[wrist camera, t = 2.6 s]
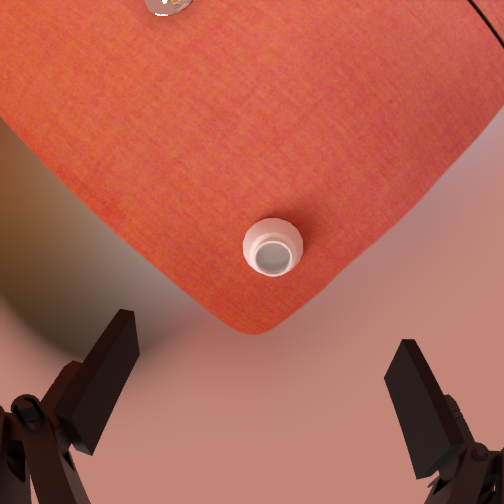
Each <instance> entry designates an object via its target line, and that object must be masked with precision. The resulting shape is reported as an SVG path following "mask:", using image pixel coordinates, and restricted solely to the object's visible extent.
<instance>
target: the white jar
mask: <svg viewBox="0 0 504 504" xmlns="http://www.w3.org/2000/svg"><path fill="white" fill-rule="evenodd" d="M243 254H244V257H245V258H246V260H247V262H248V264H249V265H250V266H251V267H252V268H254V269H255V270H256V271H257V272H259V273H262V274H264V275H267V276H280V275H282V274H284V273H286V272H288V271H291V270H292V269H293V268H294V267H295V266H296V265H297V264H298V263H299V261H300V259H301V256H302V254H303V239H302V237H301V235H300V233H299V231H298V229H297V228H296V227H294V226H293V225H292V224H291V223H290V222H288V221H285V220H282V219H280V218H265V219H263V220H261V221H259V222H257V223H254V225H253V226H252V227H251V228H250V229H249V230H248V231H247V232H246V235H245V238H244V241H243Z"/></svg>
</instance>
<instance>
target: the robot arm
mask: <svg viewBox="0 0 504 504" xmlns="http://www.w3.org/2000/svg"><path fill="white" fill-rule="evenodd" d="M139 355H140V352H139V346H138V339H137V332H136V324H135V315H134V311H129V310H124V309H119V311H118V312H117V314H116V315H115V316H114V318H113V319H112V321H111V322H110V323H109V325H108V326H107V328H106V329H105V331H104V332H103V333H102V335H101V336H100V338H99V339H98V341H97V342H96V344H95V345H94V347H93V348H92V350H91V351H90V353H89V354H88V356H87V357H86V359H85V360H84V362H83V363H80V362H77V361H72V362H70V363H69V364H67V365H66V366H64V368H63V369H62V371H61V372H60V374H59V376H58V377H57V378H56V379H55V381H54V384H52V385H51V387H50V388H49V390H48V391H47V393H46V394H45V396H44V397H43V399H42V400H41V402H40V401H39V399H38V398H36V397H35V396H33V395H30V394H25V395H21V396H19V397H17V398H16V399H15V400H14V401H13V403H12V405H11V412H12V413H8V412H5V411H4V409H3V408H2V407H1V406H0V504H32V503H31V489H30V475H31V479H32V482H33V486H34V489H35V492H36V496H37V498H38V502H39V504H91V503H90V501H89V499H88V497H87V494H86V492H85V490H84V487H83V485H82V482H81V480H80V478H79V475H78V472H77V470H76V467H75V465H74V462H73V459H72V456H71V453H70V451H69V450H68V449H69V447H70V445H71V443H72V444H73V446H74V448H75V449H76V450H78V451H80V452H83V453H86V454H88V455H91V456H92V455H93V453H94V451H95V448H96V446H97V444H98V441H99V439H100V437H101V435H102V432H103V430H104V428H105V426H106V423H107V421H108V419H109V417H110V415H111V413H112V411H113V408H114V406H115V404H116V402H117V400H118V397H119V396H120V393H121V391H122V389H123V387H124V385H125V383H126V381H127V379H128V377H129V375H130V373H131V371H132V369H133V367H134V365H135V362H136V360H137V359H138V357H139ZM384 379H385V382H386V385H387V388H388V391H389V394H390V397H391V399H392V402H393V405H394V408H395V411H396V414H397V417H398V420H399V423H400V426H401V429H402V432H403V435H404V439H405V442H406V445H407V448H408V452H409V455H410V458H411V461H412V465H413V469H414V472H415V475H416V479H421V478H426V477H430V476H432V475H433V474H434V473H435V472H436V471H437V470H438V471H439V474H440V475H439V476H438V477H437V478H435V479H434V480H433V481H432V482H431V483H430V484H429V485H428V488H429V487H430V486H432V485H433V487H432V489H431V491H430V493H429V495H428V497H427V499H426V501H425V503H424V504H504V448H503V449H502V450H501V451H489V450H488V449H487V447H486V446H485V445H483V444H482V443H477V442H475V441H474V438H473V436H472V434H471V432H470V430H469V427H468V425H467V423H466V421H465V419H464V418H463V415H462V413H461V412H460V409H459V407H458V405H457V403H456V401H455V400H454V399H453V398H452V397H451V396H450V395H449V394H448V395H443V393H442V391H441V389H440V387H439V385H438V383H437V381H436V379H435V377H434V375H433V373H432V371H431V369H430V367H429V365H428V363H427V362H426V360H425V358H424V356H423V354H422V352H421V350H420V348H419V347H418V345H417V343H416V341H415V340H414V339H402V341H401V343H400V346H399V347H398V350H397V352H396V354H395V356H394V358H393V360H392V362H391V364H390V366H389V369H388V371H387V373H386V375H385V377H384ZM494 486H495V491H494Z"/></svg>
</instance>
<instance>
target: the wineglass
mask: <svg viewBox="0 0 504 504" xmlns="http://www.w3.org/2000/svg"><path fill="white" fill-rule="evenodd" d="M191 1H192V0H145V4H146V7H147V9H148V10H149V11H150V12H151V13H153V14H155V15H158V16H169V15H173V14H176V13H178V12H180V11H182V10H183V9H185V8H186V7H187V6H188V5H189V4H190V3H191Z"/></svg>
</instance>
